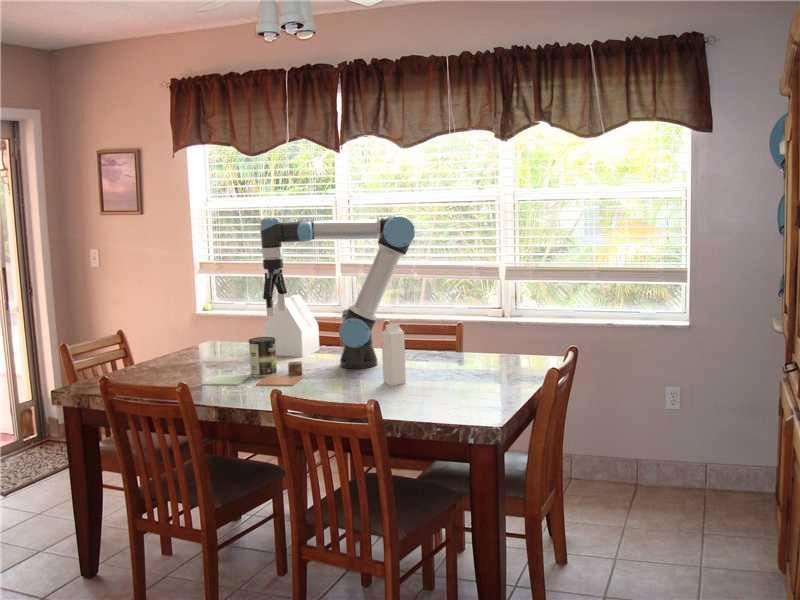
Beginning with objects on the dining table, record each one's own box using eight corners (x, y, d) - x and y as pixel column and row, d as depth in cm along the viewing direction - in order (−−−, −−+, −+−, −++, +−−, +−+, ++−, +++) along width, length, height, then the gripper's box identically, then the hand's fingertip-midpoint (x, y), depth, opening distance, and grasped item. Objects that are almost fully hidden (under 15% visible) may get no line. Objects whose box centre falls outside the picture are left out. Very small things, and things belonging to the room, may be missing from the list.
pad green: (251, 376, 304) (250, 375, 304) (237, 385, 290) (237, 383, 290) (216, 376, 306) (216, 374, 306) (202, 385, 293) (202, 383, 293)
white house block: (319, 350, 353) (316, 295, 350) (302, 357, 339) (299, 299, 336) (282, 348, 360) (279, 294, 357) (264, 354, 346) (261, 298, 343)
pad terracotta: (303, 377, 301) (303, 375, 300) (292, 386, 287) (292, 384, 287) (268, 376, 303) (268, 375, 303) (255, 385, 289) (255, 384, 289)
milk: (405, 383, 286) (404, 323, 283) (392, 385, 282) (391, 325, 279) (396, 380, 291) (394, 321, 288) (382, 382, 287) (381, 323, 284)
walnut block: (302, 373, 307) (301, 361, 306) (301, 376, 302) (301, 363, 301) (289, 374, 306) (288, 361, 306) (288, 377, 302) (288, 364, 301)
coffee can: (280, 371, 312) (279, 336, 310) (271, 377, 302) (269, 341, 300) (256, 371, 314) (254, 336, 312) (246, 377, 304) (244, 341, 302)
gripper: (273, 256, 313) (277, 308, 316) (251, 261, 289) (256, 318, 292) (292, 255, 312) (295, 308, 315) (271, 261, 287) (275, 318, 290)
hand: (276, 313), depth 303 cm, fingers open, 13 cm apart
